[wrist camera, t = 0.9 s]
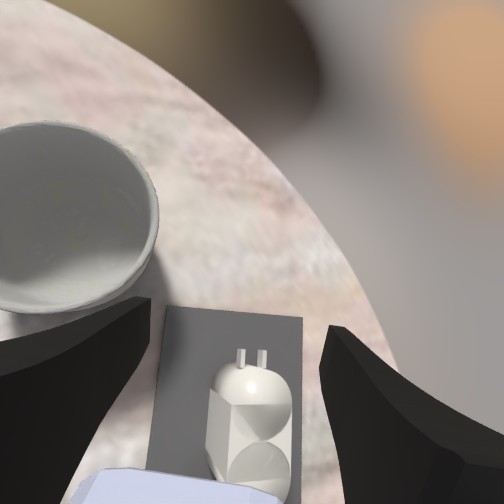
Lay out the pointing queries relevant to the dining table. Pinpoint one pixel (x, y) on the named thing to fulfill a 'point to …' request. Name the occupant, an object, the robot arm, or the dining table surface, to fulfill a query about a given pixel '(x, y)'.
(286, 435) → the plug block
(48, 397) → the robot arm
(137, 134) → the dining table surface
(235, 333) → the rubber mat
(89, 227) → the teacup
